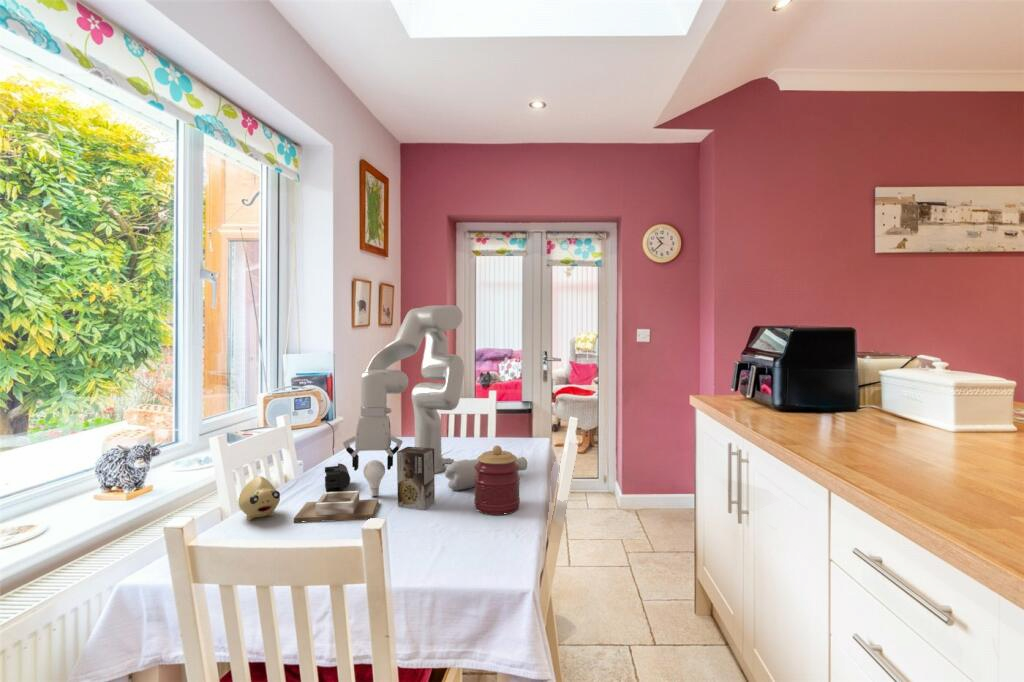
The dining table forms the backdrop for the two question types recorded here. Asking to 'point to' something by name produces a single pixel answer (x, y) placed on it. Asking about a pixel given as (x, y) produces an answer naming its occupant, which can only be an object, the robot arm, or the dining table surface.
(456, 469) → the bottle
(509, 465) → the canister
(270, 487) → the golden cartoon creature figurine
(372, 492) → the lightbulb
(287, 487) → the dining table surface
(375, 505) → the socket board
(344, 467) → the end cap
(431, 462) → the coffee box
